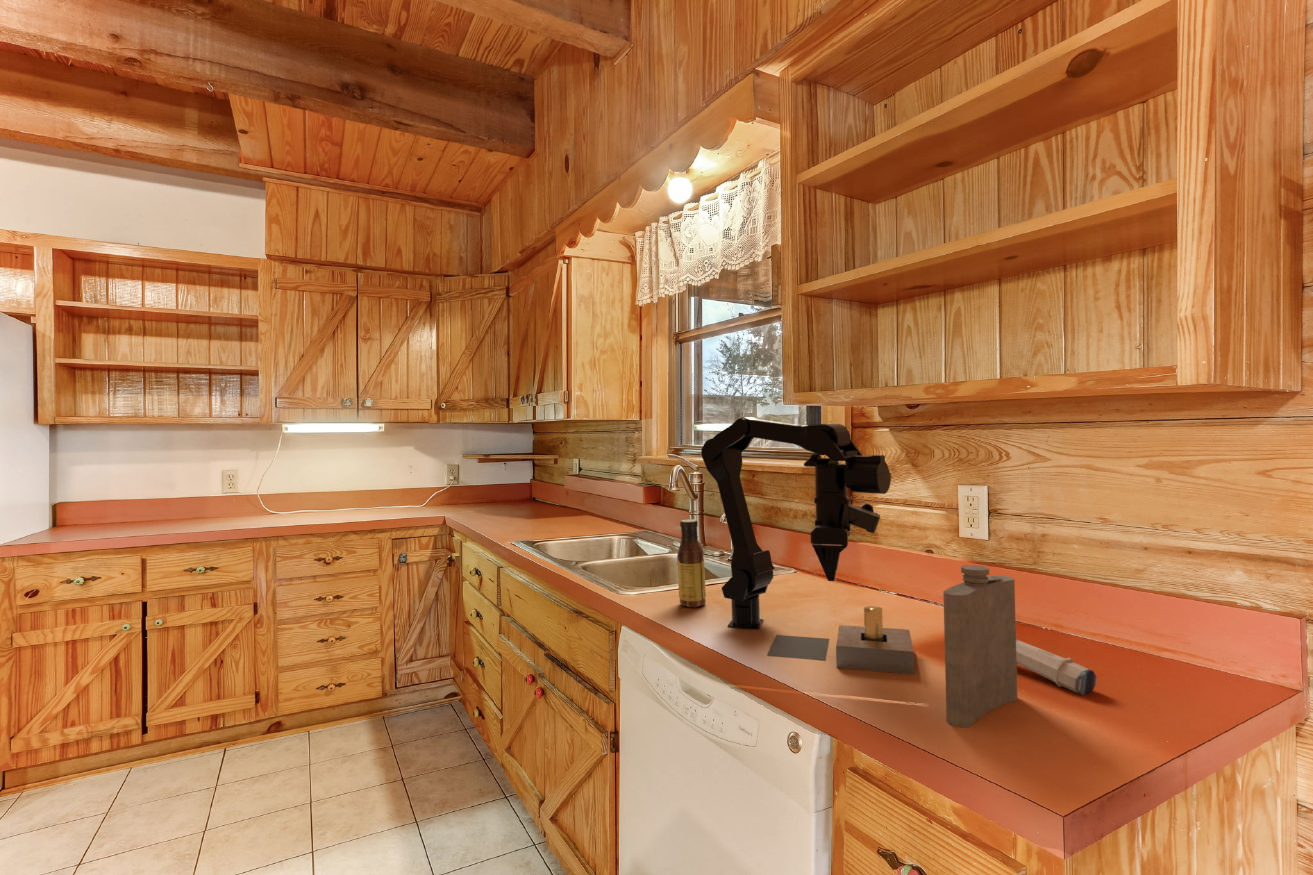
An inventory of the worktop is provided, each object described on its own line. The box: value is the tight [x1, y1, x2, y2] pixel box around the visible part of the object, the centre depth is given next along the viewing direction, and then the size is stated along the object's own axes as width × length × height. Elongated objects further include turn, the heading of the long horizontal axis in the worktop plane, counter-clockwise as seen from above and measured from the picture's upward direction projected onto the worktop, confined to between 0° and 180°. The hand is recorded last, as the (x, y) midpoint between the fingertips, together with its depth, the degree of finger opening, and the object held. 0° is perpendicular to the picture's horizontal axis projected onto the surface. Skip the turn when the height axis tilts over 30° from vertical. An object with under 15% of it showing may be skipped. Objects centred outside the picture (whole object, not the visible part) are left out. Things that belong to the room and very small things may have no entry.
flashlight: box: [1016, 639, 1098, 696], centre depth 106 cm, size 5×7×25 cm
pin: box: [863, 605, 884, 642], centre depth 110 cm, size 3×3×9 cm
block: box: [835, 624, 915, 675], centre depth 110 cm, size 12×12×4 cm
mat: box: [766, 634, 830, 661], centre depth 117 cm, size 12×10×1 cm
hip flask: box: [943, 564, 1018, 728], centre depth 90 cm, size 16×4×20 cm, turn 126°
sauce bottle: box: [676, 518, 707, 608], centre depth 149 cm, size 6×6×20 cm
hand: (832, 575), depth 119 cm, fingers open, 9 cm apart
